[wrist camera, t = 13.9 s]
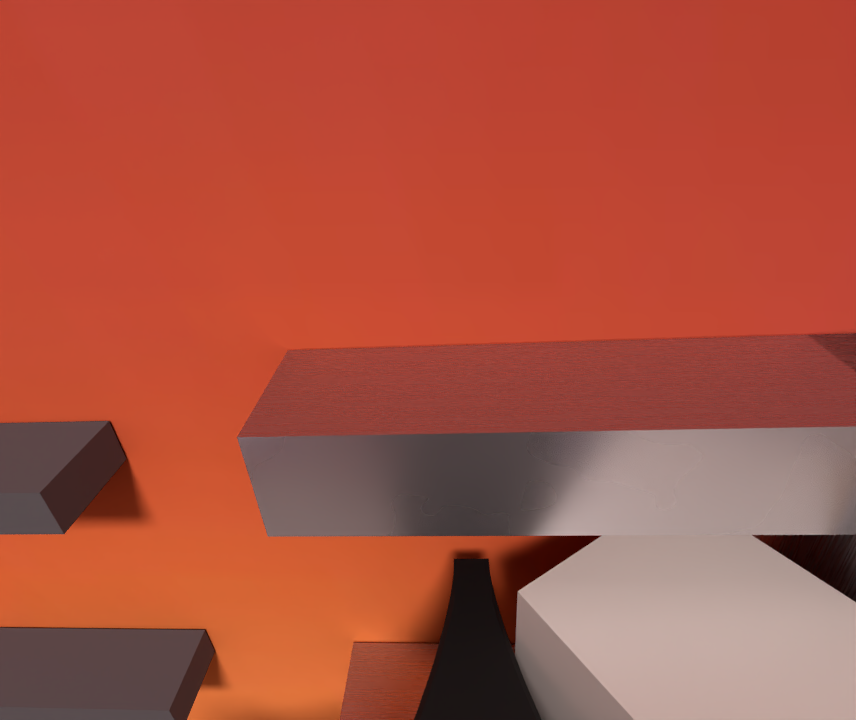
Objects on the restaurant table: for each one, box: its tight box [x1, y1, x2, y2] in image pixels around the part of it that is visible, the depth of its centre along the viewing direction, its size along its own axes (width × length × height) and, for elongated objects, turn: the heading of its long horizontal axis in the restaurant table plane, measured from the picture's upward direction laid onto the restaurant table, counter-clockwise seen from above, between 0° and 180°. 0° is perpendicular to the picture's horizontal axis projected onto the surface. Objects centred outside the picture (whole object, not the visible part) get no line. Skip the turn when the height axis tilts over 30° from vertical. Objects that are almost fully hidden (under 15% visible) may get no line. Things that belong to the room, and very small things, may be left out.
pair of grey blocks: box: [0, 421, 215, 720], centre depth 12 cm, size 6×8×2 cm
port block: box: [237, 334, 856, 720], centre depth 10 cm, size 11×11×3 cm
